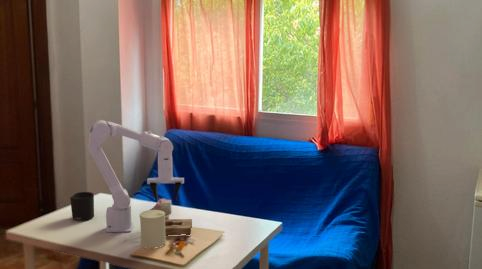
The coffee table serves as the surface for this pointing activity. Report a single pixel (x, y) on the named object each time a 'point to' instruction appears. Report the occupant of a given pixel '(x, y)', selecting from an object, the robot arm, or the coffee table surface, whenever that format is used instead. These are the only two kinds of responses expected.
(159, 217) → the can
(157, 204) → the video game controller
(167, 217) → the steel peg
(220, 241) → the coffee table surface
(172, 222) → the keyhole plate
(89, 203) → the pen holder
